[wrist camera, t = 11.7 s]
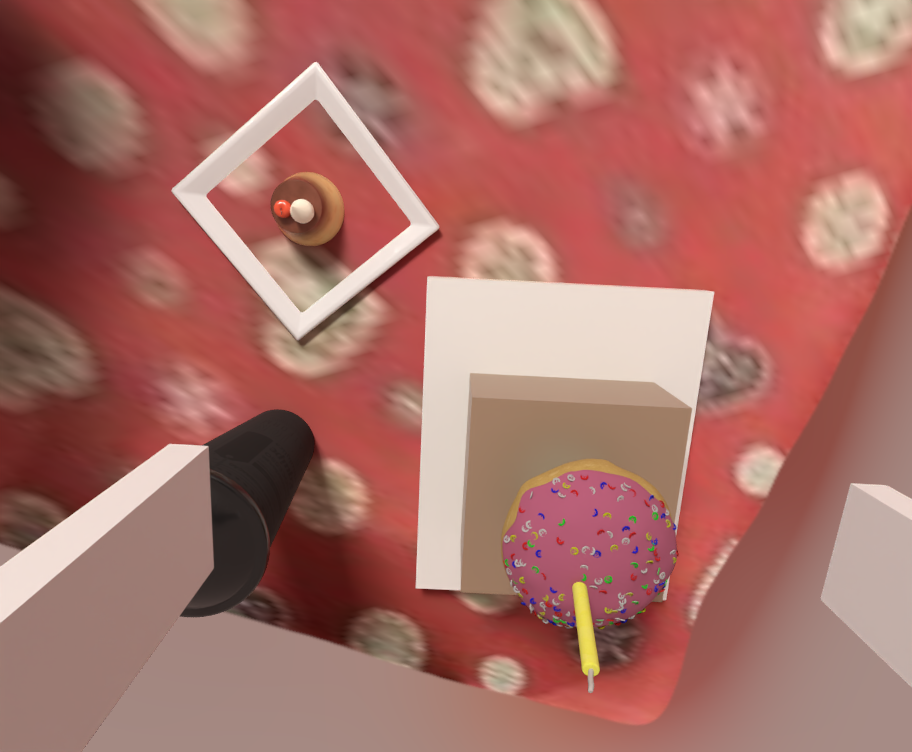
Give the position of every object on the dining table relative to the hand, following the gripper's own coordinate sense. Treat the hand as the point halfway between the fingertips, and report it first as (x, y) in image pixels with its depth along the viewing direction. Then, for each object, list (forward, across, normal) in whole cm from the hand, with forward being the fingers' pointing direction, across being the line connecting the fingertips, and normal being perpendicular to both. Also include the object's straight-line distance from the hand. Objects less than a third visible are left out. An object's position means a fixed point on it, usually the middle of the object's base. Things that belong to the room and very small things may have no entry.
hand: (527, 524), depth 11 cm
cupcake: (+18, +6, -8) cm, 21 cm away
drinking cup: (+26, -13, -9) cm, 30 cm away
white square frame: (+27, -11, +7) cm, 30 cm away
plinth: (+26, +6, -8) cm, 27 cm away
